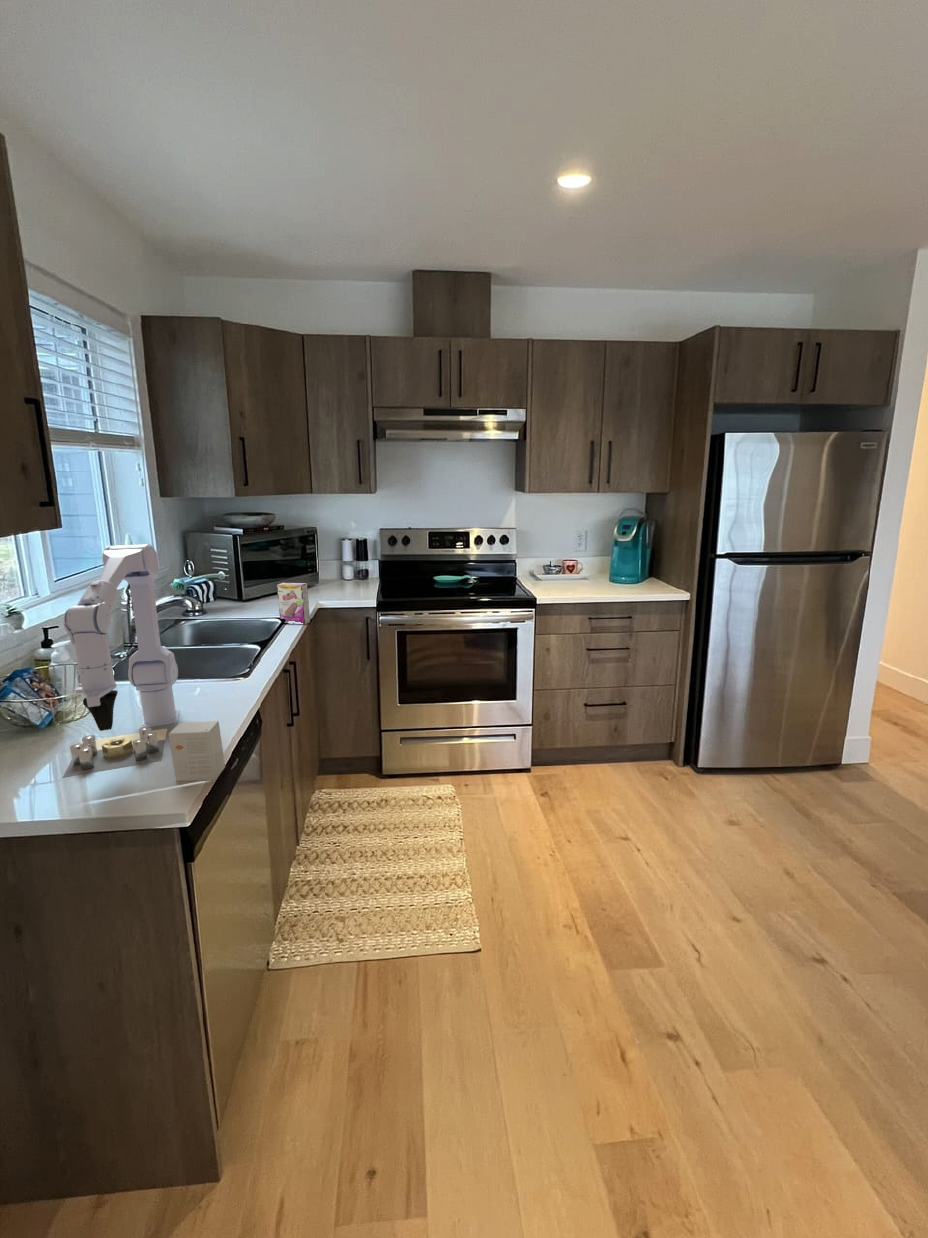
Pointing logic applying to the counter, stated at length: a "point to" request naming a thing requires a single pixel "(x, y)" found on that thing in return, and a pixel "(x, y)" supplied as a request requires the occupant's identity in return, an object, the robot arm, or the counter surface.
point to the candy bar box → (294, 602)
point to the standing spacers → (88, 749)
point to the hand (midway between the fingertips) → (106, 729)
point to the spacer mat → (129, 760)
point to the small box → (197, 751)
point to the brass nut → (117, 748)
